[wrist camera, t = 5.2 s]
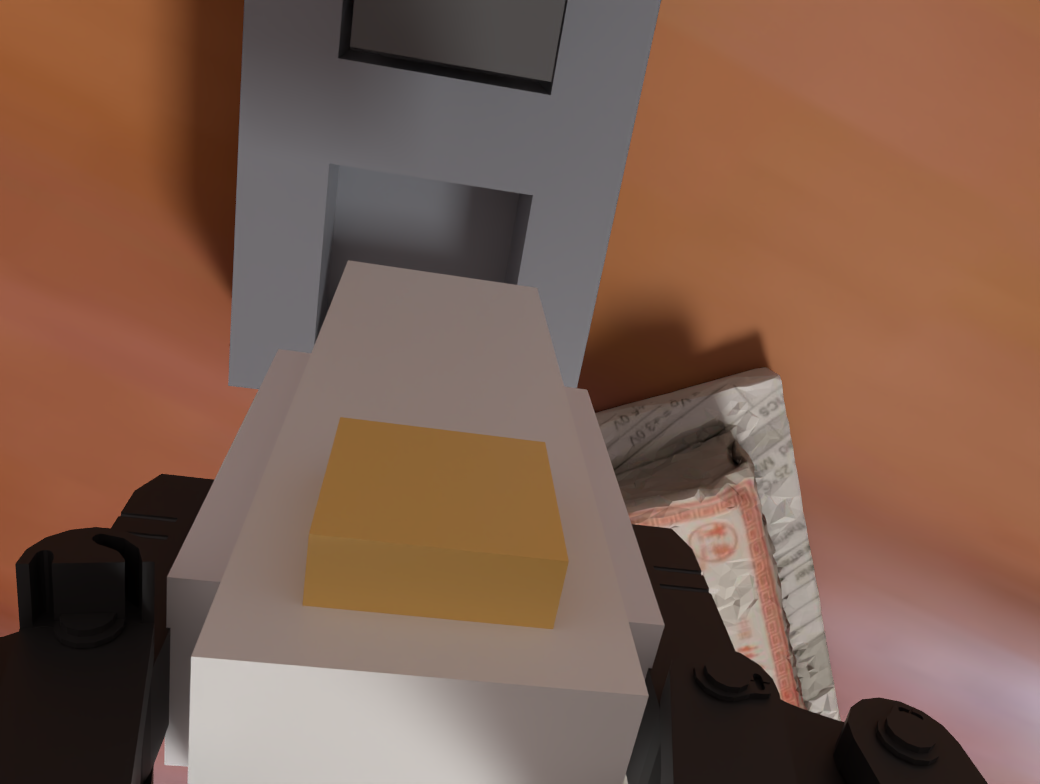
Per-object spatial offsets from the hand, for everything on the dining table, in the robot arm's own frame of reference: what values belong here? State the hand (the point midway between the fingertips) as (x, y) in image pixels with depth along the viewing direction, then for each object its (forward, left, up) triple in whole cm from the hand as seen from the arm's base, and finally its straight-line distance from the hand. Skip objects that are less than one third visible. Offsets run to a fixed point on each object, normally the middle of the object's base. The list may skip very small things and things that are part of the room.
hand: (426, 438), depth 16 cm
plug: (0, 0, -4) cm, 4 cm away
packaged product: (-12, +13, -14) cm, 22 cm away
